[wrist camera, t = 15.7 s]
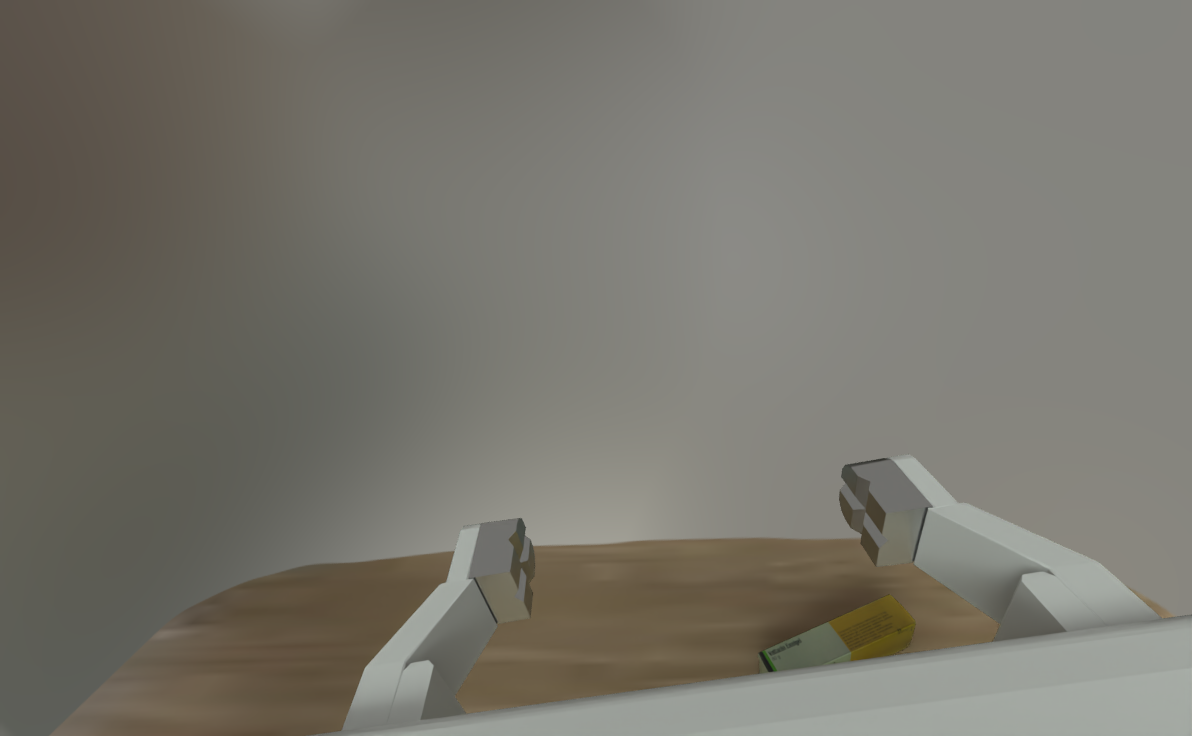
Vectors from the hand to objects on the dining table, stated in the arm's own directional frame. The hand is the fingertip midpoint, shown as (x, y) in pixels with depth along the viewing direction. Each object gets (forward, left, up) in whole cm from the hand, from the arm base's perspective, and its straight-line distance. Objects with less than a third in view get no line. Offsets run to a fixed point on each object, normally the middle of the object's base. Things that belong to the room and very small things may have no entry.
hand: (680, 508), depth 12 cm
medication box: (+15, -2, -33) cm, 36 cm away
